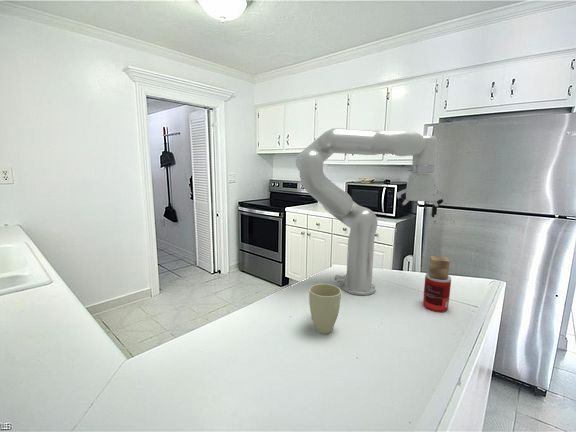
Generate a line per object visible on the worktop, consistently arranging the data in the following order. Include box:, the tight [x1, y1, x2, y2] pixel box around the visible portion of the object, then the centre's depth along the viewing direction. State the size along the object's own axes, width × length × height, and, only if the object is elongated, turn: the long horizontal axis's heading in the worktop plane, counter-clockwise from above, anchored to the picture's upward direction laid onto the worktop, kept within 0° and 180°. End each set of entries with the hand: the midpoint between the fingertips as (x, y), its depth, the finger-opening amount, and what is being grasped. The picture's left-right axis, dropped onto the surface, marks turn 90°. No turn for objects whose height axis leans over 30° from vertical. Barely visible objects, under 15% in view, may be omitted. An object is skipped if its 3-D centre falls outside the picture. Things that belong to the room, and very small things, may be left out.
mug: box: [308, 283, 342, 335], centre depth 84 cm, size 11×10×12 cm
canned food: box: [422, 271, 452, 313], centre depth 97 cm, size 8×8×11 cm
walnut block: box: [428, 255, 451, 280], centre depth 96 cm, size 5×5×6 cm
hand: (418, 215), depth 110 cm, fingers open, 9 cm apart
